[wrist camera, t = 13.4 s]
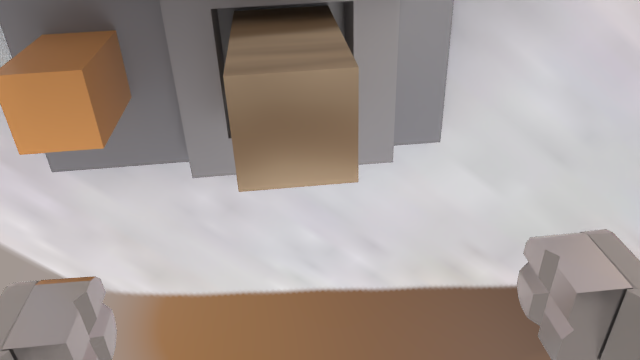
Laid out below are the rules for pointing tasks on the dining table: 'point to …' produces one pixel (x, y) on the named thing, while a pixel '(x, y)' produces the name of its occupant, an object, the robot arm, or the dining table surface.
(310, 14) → the wood plug
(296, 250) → the dining table surface
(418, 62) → the socket board
